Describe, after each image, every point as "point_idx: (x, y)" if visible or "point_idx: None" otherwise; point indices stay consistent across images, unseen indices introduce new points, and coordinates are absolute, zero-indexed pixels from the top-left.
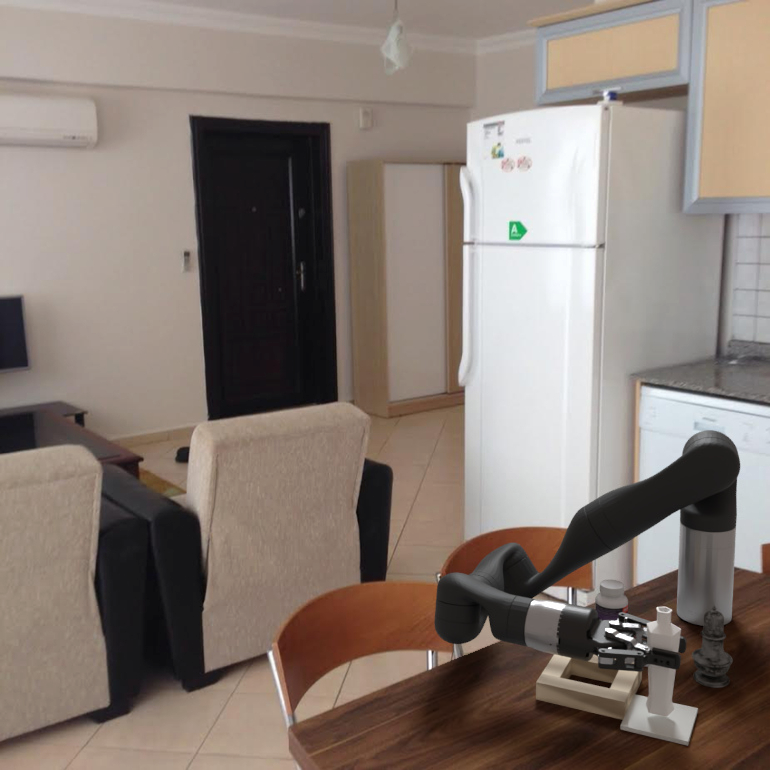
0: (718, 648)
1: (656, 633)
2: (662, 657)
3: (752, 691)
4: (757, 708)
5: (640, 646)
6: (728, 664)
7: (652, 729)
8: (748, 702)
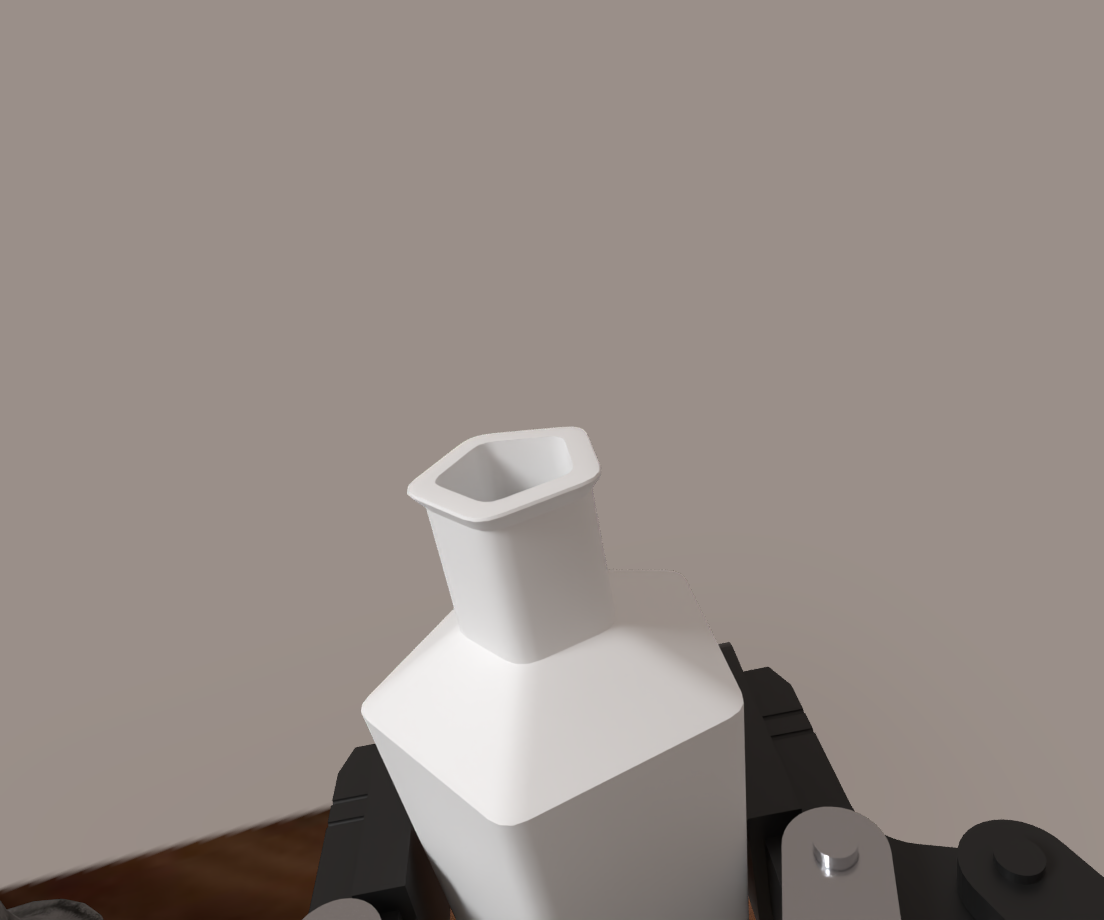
0: (2, 904)
1: (722, 661)
2: (814, 740)
3: (174, 881)
4: (324, 826)
5: (847, 917)
6: (82, 903)
7: None
8: (280, 867)
